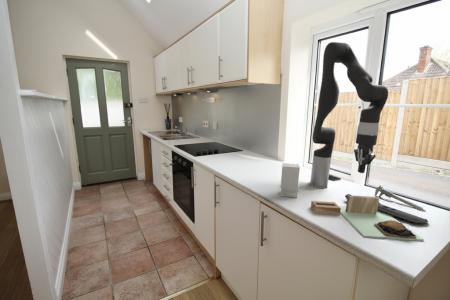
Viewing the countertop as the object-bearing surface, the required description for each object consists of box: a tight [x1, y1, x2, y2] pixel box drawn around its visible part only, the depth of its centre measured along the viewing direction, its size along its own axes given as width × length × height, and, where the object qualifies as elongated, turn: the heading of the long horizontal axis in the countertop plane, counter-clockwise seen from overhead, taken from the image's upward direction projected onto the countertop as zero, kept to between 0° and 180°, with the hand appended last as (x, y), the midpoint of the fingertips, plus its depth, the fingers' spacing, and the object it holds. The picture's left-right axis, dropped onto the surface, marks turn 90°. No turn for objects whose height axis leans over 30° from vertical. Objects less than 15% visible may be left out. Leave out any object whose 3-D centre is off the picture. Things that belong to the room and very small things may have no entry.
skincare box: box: [280, 162, 301, 199], centre depth 111 cm, size 8×7×16 cm
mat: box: [338, 205, 425, 242], centre depth 88 cm, size 24×20×1 cm
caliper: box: [374, 185, 427, 212], centre depth 107 cm, size 20×1×6 cm, turn 35°
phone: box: [328, 173, 342, 182], centre depth 145 cm, size 8×1×15 cm
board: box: [345, 194, 380, 214], centre depth 94 cm, size 2×7×12 cm
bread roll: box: [374, 220, 416, 238], centre depth 80 cm, size 11×8×4 cm
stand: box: [310, 200, 341, 216], centre depth 96 cm, size 6×10×3 cm, turn 87°
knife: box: [344, 193, 429, 224], centre depth 98 cm, size 9×2×30 cm
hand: (360, 172), depth 98 cm, fingers closed
